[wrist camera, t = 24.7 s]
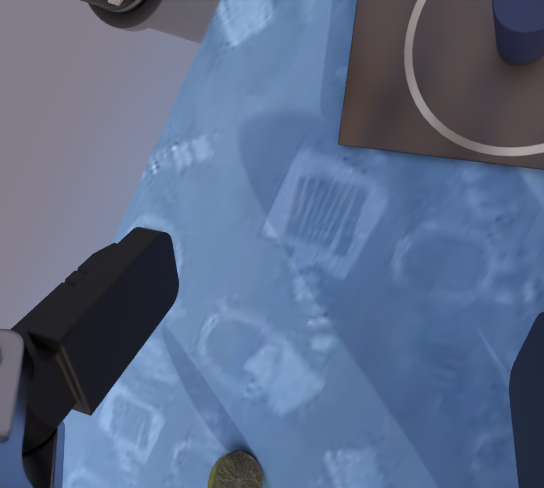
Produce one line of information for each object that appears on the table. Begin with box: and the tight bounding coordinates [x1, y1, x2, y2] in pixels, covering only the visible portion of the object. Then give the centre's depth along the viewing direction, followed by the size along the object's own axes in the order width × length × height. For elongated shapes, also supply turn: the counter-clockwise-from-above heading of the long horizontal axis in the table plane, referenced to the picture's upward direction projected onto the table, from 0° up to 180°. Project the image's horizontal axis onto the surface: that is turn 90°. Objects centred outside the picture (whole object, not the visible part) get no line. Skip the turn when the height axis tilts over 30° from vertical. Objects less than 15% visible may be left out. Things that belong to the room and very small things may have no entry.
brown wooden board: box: [338, 0, 544, 170], centre depth 25 cm, size 18×16×1 cm
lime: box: [208, 451, 263, 488], centre depth 40 cm, size 4×5×5 cm
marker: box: [492, 0, 544, 66], centre depth 21 cm, size 3×3×9 cm
